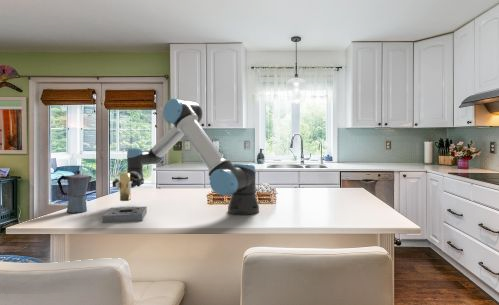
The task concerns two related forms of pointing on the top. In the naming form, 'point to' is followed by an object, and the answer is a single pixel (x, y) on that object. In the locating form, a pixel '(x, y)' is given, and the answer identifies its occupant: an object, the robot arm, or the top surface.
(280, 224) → the top surface
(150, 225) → the top surface
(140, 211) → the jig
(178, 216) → the top surface
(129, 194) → the tan peg
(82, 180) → the moka pot
